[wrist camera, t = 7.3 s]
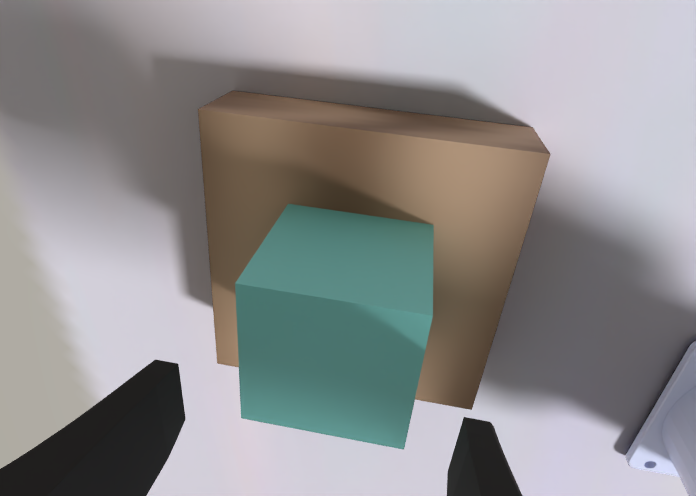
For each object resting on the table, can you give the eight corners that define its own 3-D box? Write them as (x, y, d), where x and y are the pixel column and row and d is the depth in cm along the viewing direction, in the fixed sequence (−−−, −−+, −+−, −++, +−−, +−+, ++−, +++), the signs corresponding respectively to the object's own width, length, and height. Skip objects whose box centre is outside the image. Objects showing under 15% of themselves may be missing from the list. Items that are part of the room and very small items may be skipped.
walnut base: (532, 127, 17) (550, 154, 14) (467, 359, 22) (471, 409, 20) (232, 90, 18) (198, 108, 15) (241, 320, 23) (217, 363, 21)
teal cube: (433, 224, 16) (432, 315, 11) (411, 339, 18) (404, 449, 14) (288, 203, 16) (235, 283, 12) (285, 318, 19) (241, 418, 14)
